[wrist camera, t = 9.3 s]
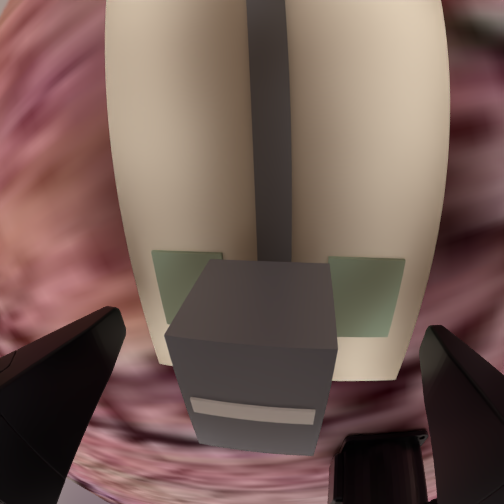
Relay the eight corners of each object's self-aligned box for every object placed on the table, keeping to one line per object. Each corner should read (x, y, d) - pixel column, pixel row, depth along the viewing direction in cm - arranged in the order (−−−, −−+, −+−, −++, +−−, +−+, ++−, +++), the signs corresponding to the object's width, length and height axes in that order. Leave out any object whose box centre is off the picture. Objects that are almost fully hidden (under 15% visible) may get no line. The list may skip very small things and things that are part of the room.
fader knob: (326, 244, 8) (338, 352, 5) (316, 351, 10) (313, 457, 6) (220, 241, 9) (162, 337, 5) (231, 345, 11) (199, 445, 7)
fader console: (375, -114, 4) (386, -149, 1) (384, 333, 13) (396, 382, 11) (156, -99, 6) (125, -127, 3) (181, 322, 15) (158, 365, 12)
